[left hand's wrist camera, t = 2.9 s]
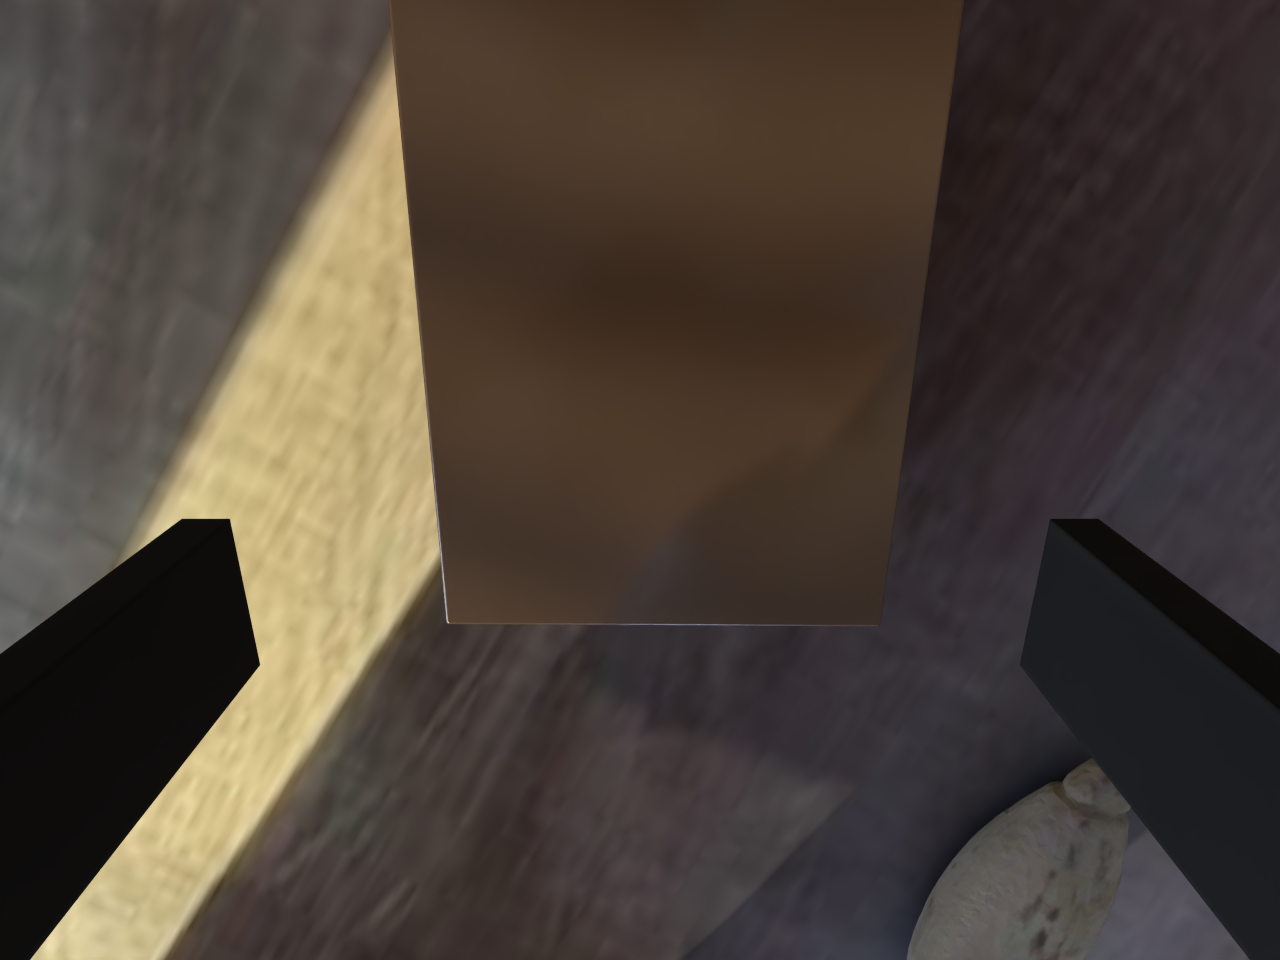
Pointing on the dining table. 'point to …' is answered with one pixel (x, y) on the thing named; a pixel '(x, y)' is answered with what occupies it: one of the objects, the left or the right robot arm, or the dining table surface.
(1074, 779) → the decorative stone
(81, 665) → the left robot arm
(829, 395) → the cabinet
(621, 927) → the dining table surface
